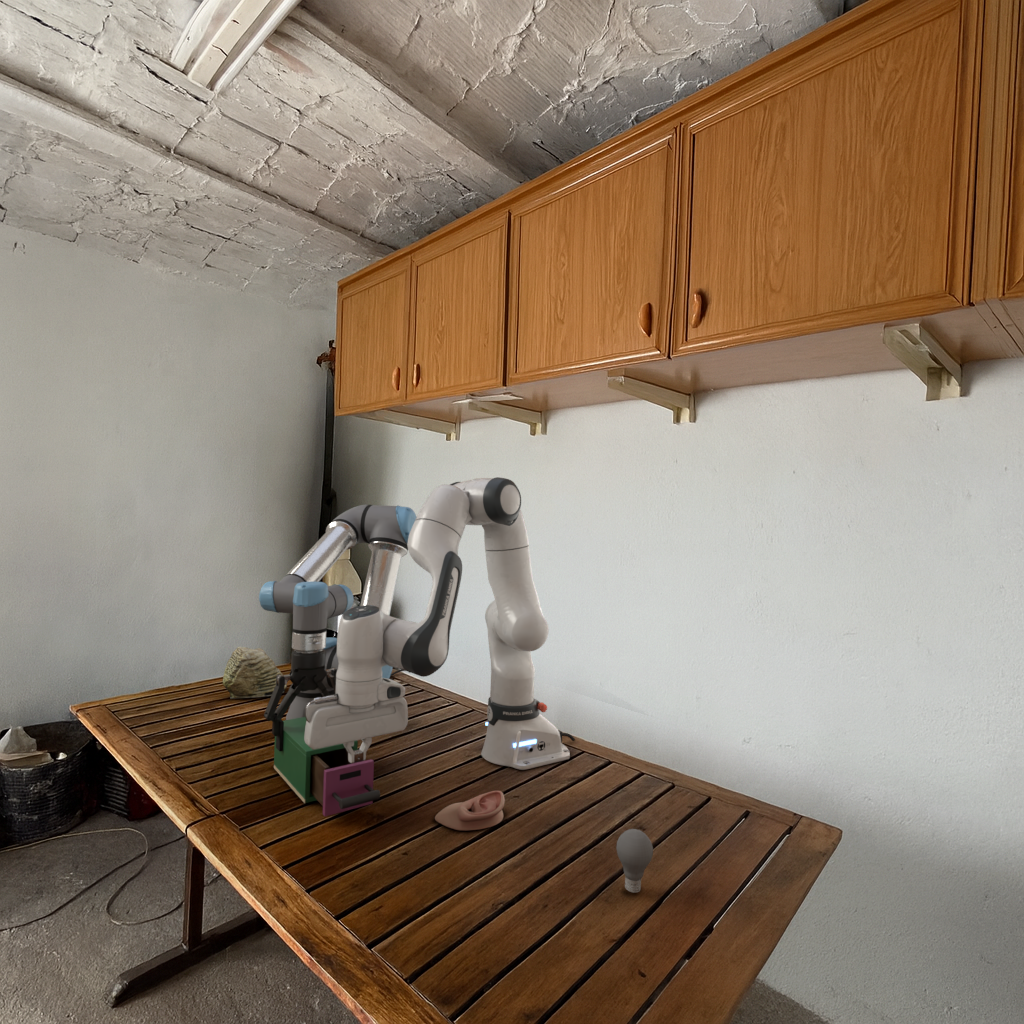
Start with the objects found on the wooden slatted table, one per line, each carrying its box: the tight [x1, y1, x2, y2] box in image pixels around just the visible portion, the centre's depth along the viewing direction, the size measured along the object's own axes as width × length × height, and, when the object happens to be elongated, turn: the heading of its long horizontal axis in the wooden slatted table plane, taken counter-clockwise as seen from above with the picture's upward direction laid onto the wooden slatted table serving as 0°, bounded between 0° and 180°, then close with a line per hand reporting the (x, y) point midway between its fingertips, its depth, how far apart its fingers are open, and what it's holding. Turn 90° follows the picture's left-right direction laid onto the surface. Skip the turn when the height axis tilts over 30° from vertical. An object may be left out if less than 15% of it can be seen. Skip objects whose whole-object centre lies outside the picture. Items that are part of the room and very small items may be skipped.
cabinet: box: [273, 717, 359, 804], centre depth 142 cm, size 21×11×11 cm, turn 37°
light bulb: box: [615, 828, 654, 894], centre depth 106 cm, size 6×6×10 cm
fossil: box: [222, 646, 288, 699], centre depth 198 cm, size 9×18×15 cm, turn 132°
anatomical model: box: [434, 790, 506, 831], centre depth 128 cm, size 13×4×12 cm
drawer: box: [310, 748, 381, 817], centre depth 131 cm, size 26×10×9 cm, turn 37°
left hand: (305, 744), depth 146 cm, fingers closed on cabinet, 11 cm apart
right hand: (356, 760), depth 124 cm, fingers closed
